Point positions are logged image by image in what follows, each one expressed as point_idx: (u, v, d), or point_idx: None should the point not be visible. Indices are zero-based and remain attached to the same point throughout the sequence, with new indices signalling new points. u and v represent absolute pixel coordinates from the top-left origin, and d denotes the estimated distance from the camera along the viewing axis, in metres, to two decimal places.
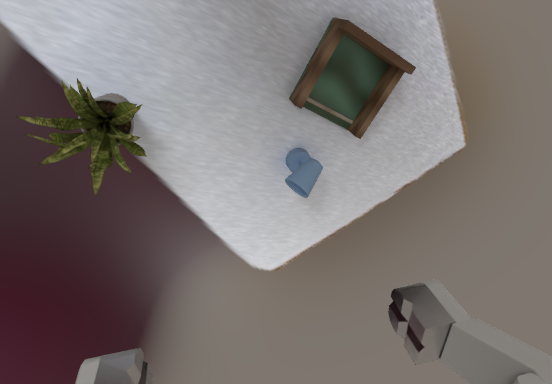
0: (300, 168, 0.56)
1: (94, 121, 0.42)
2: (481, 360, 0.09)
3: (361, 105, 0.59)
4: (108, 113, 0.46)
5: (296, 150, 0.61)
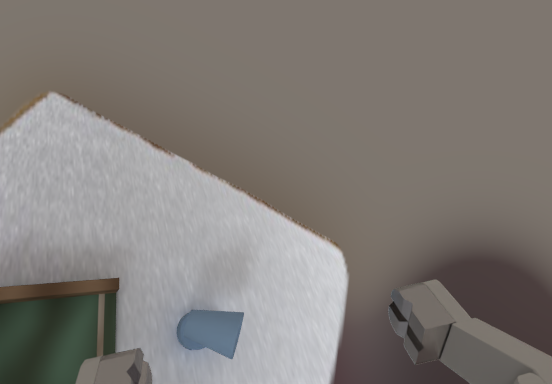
0: (207, 347, 0.36)
1: None
2: (481, 360, 0.09)
3: (67, 299, 0.36)
4: None
5: (183, 344, 0.40)
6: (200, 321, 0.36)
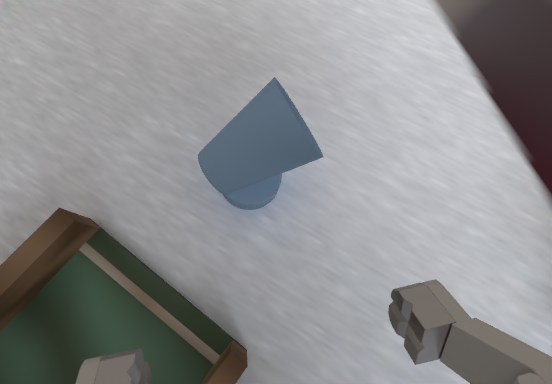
0: (270, 176, 0.18)
1: None
2: (481, 360, 0.09)
3: (45, 290, 0.21)
4: None
5: (250, 207, 0.23)
6: (220, 150, 0.17)
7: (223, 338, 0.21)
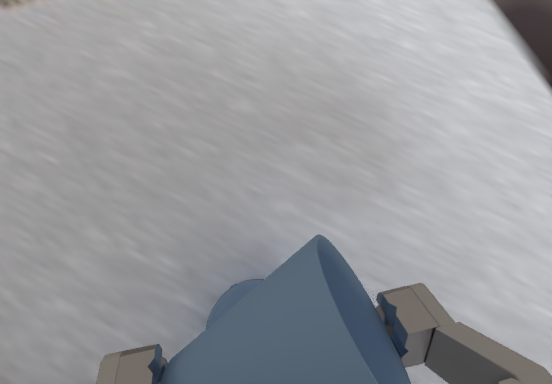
0: None
1: None
2: (464, 365, 0.09)
3: None
4: None
5: None
6: None
7: None
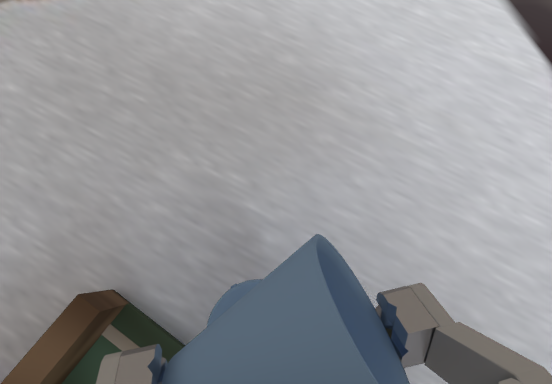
0: None
1: None
2: (464, 364, 0.09)
3: None
4: None
5: None
6: None
7: None
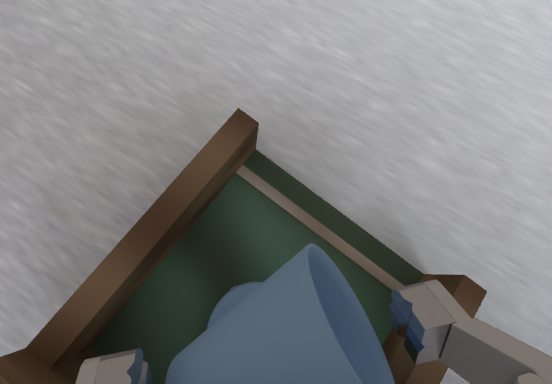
0: None
1: None
2: (481, 360, 0.09)
3: (203, 219, 0.17)
4: None
5: None
6: None
7: (413, 272, 0.18)
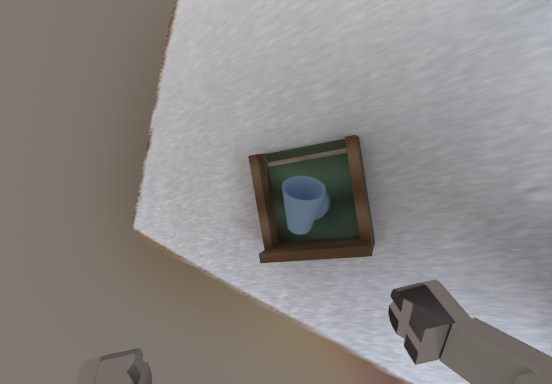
0: (316, 213, 0.38)
1: None
2: (481, 360, 0.09)
3: (273, 187, 0.47)
4: None
5: (325, 213, 0.43)
6: (293, 224, 0.38)
7: (345, 141, 0.42)
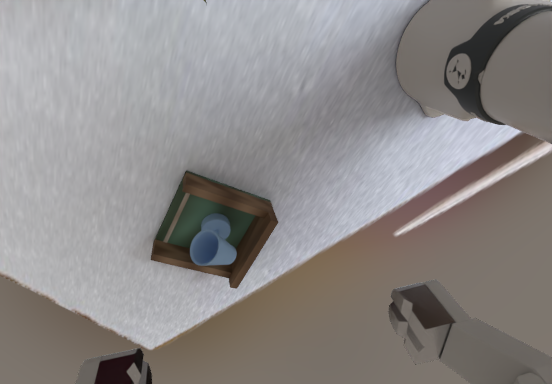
0: (227, 243, 0.47)
1: None
2: (481, 360, 0.09)
3: (186, 246, 0.53)
4: None
5: (229, 224, 0.52)
6: (225, 263, 0.47)
7: (183, 182, 0.47)
